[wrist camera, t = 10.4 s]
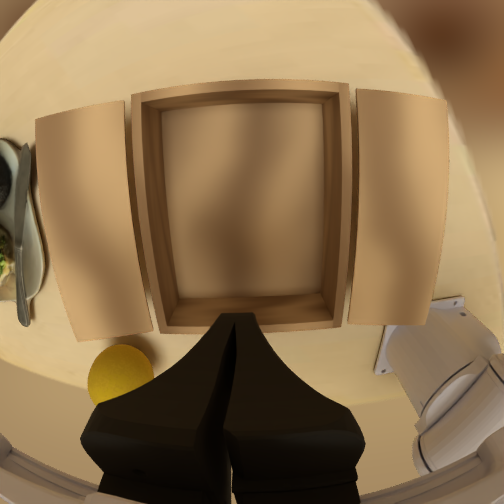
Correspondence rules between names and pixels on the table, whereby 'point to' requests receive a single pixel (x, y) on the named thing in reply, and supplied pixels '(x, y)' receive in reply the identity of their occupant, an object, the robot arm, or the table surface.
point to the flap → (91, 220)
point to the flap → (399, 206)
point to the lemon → (118, 372)
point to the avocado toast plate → (18, 231)
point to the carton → (245, 201)
